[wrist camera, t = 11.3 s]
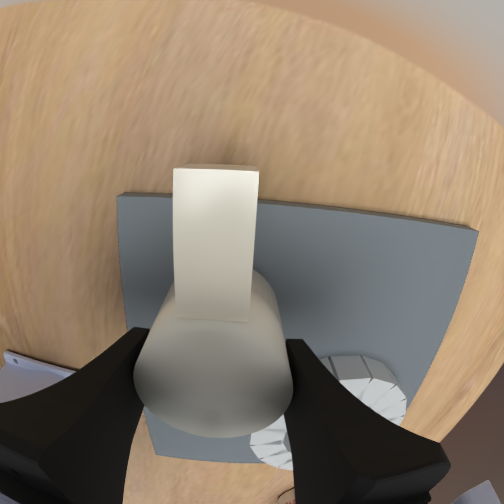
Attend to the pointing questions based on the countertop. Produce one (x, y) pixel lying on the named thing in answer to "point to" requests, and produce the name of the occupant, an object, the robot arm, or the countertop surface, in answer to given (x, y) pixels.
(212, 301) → the cream post on cylinder
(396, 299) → the stand
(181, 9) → the countertop surface
